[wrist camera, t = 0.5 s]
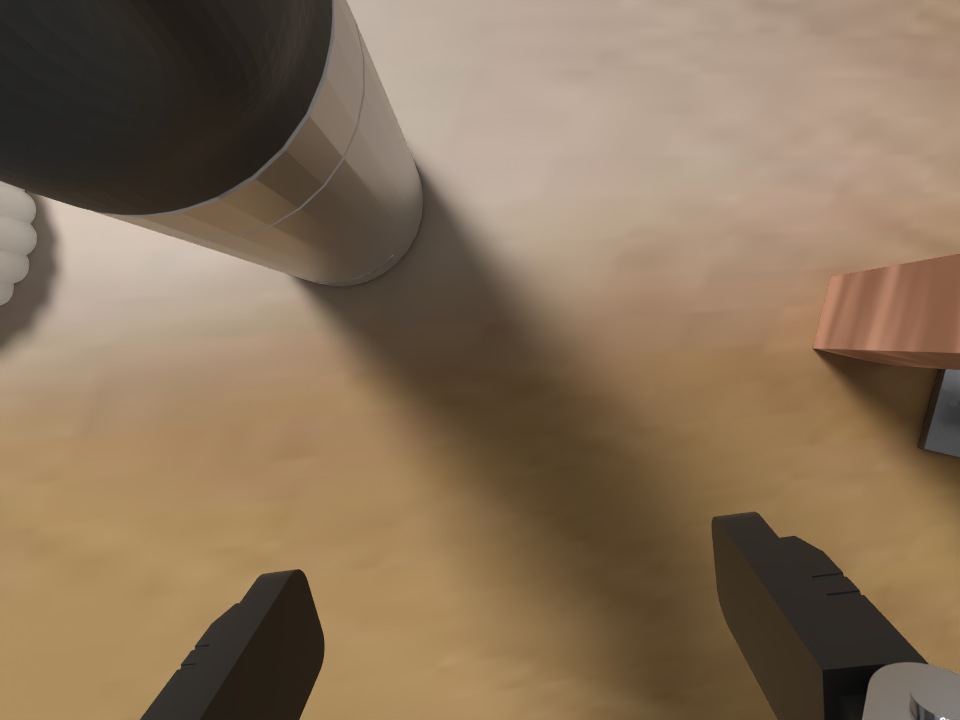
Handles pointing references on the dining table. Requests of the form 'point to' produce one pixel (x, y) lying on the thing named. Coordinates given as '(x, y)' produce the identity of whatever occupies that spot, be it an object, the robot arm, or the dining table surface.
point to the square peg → (895, 315)
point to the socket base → (943, 415)
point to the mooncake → (15, 237)
